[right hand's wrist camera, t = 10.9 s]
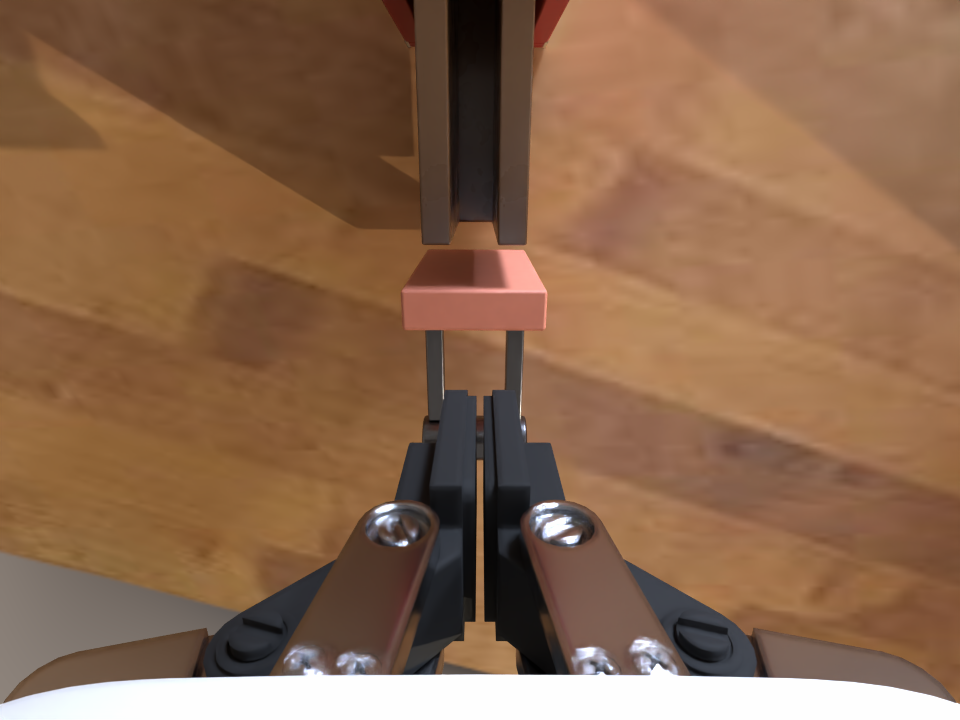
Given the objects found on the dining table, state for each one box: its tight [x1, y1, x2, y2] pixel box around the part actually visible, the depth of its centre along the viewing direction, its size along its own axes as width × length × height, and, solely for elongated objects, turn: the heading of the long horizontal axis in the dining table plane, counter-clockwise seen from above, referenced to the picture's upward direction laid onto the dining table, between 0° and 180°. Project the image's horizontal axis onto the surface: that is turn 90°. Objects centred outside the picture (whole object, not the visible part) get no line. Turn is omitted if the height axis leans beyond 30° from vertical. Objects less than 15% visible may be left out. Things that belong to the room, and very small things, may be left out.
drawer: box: [401, 0, 547, 460], centre depth 16 cm, size 26×4×8 cm, turn 0°
